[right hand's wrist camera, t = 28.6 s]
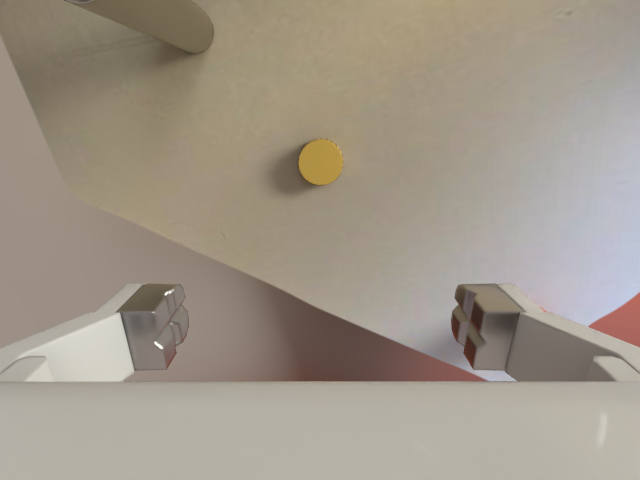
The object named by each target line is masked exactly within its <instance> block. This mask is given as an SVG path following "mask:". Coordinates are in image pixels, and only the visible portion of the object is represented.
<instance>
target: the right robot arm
mask: <svg viewBox="0 0 640 480" xmlns="http://www.w3.org/2000/svg"><path fill="white" fill-rule="evenodd" d="M184 299H185V294H184V289H183V287H182V286H181V285H180V284H145V283H138V284H126V285H125V286H124V287H123V288H121V289H120V290H119V291H118V292H117V293H116V294H115V295H114V296H112V297H111V298H110V299H109V300H108V301H107V302H106V303H105V304H103V305H102V306H101V307H100V308H99V309H98V310H97V311H96V312H89V313H86V314H84V315H81V316H79V317H76V318H74V319H71V320H69V321H66V322H64V323H61V324H59V325H56V326H54V327H51V328H48V329H46V330H43V331H41V332H39V333H36V334H33V335H31V336H28V337H26V338H23V339H21V340H18V341H16V342H13V343H11V344H8V345H6V346H3V347H1V348H0V480H640V348H639V347H637V346H634V345H632V344H629V343H627V342H624V341H622V340H619V339H617V338H614V337H611V336H609V335H606V334H604V333H601V332H599V331H596V330H594V329H591V328H589V327H586V326H584V325H581V324H579V323H576V322H574V321H571V320H569V319H566V318H564V317H561V316H559V315H556V314H554V313H551V312H544V311H543V310H542V309H541V308H540V307H539V306H538V305H537V304H535V303H534V302H533V301H532V300H531V299H530V298H529V297H528V296H527V295H525V294H524V293H523V292H522V291H521V290H520V289H519V288H518V287H517V286H515V285H514V284H511V283H503V284H462V285H458V287H457V289H456V293H455V299H456V301H457V302H458V304H459V305H458V306H457V307H456V308H455V309H454V310H453V311H452V318H451V324H452V331H453V335H454V337H455V339H456V341H457V342H458V343H459V344H461V345H462V346H464V347H465V348H464V355H465V356H466V358H467V360H468V361H469V363H470V365H471V366H472V368H473V370H504V371H505V372H506V373H507V374H509V375H510V376H511V377H513V378H514V379H515V380H517V381H205V382H204V381H158V382H157V381H138V382H137V381H123V380H125V379H126V378H127V377H129V376H130V375H131V374H133V373H134V372H135V371H136V370H166V369H167V368H168V366H169V365H170V363H171V361H172V359H173V358H174V356H175V354H176V348H175V347H176V346H177V345H179V344H181V343H182V342H183V341H184V339H185V337H186V335H187V331H188V327H189V317H188V311H187V310H186V309H185V308H184V307H183V306H182V305H181V304H182V302H183V301H184Z"/></svg>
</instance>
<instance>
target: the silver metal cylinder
mask: <svg viewBox="0 0 640 480" xmlns="http://www.w3.org/2000/svg"><path fill="white" fill-rule="evenodd" d="M64 1H67V2H69V3H72V4H74V5H76V6H79V7H81V8H83V9H86V10H88V11H91V12H93V13H95V14H98V15H100V16H103V17H105V18H107V19H110V20H112V21H115V22H117V23H119V24H122V25H124V26H126V27H129V28H131V29H134V30H136V31H138V32H141V33H143V34H146V35H148V36H150V37H153V38H155V39H158V40H160V41H162V42H165V43H167V44H169V45H172V46H174V47H177V48H179V49H181V50H184V51H186V52H189V53H193V54H198V53H202V52H204V51H205V50H207V49H208V47H209V46H210V45H211V43H212V40H213V34H214V31H213V25H212V22H211V20H210V18H209V16H208V15H207V14H206V13H205V12H204V11H203V10H202V9H201V8H200V7H199V6H197V5H196V4H195V3H194V2H192V1H191V0H64Z"/></svg>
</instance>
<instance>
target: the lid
mask: <svg viewBox="0 0 640 480" xmlns="http://www.w3.org/2000/svg"><path fill="white" fill-rule="evenodd" d="M299 155H300V156H299V159H298V161H299V162H298V163H299V165H298V167H299V169H300V172H301V174H302V176H303V177H304V178H305V179H306V180H307V181H309V182H310V183H312V184H316V185H326V184H329V183H331V182H333V181H334V180H335V179H336V178H337V177H338V176H339V174H340V173H341V170H342V168H343V167H342V166H343V159H342V157H343V156H342V154H341V153H340V149H338V147H337V145H335V144H334V143H333V142H332V141H329V140H327V139H322V138H321V139H315V140H313V141H310V142H309V143H307V144H305V146H304V148H302V151H301V153H300V154H299Z"/></svg>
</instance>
